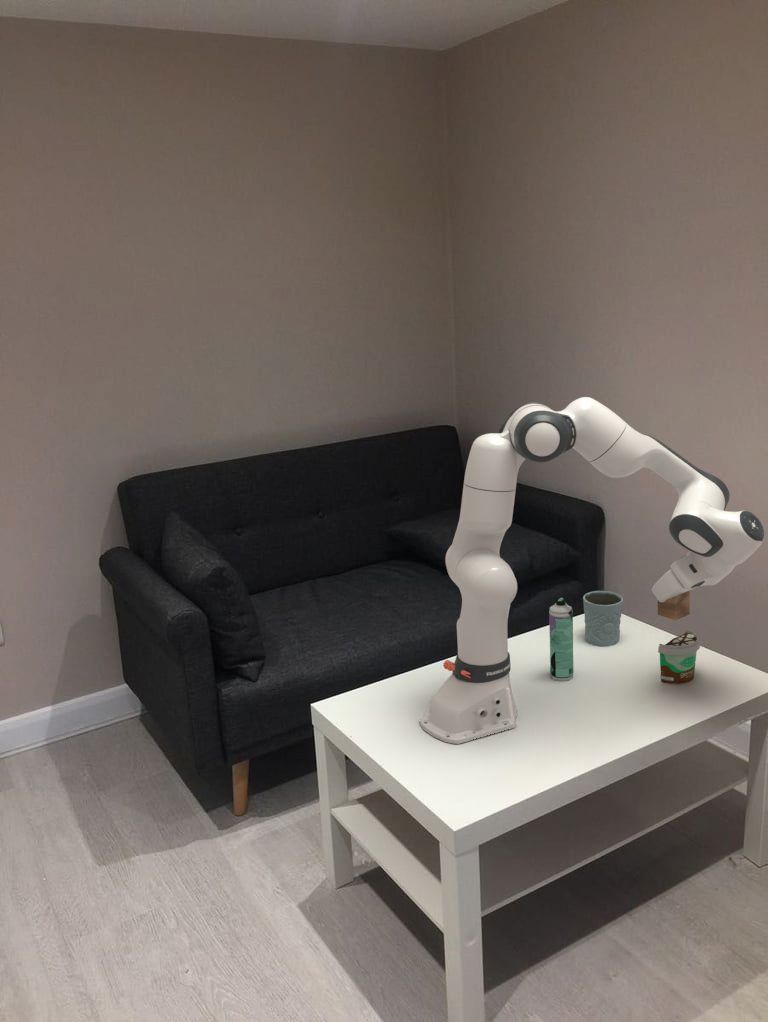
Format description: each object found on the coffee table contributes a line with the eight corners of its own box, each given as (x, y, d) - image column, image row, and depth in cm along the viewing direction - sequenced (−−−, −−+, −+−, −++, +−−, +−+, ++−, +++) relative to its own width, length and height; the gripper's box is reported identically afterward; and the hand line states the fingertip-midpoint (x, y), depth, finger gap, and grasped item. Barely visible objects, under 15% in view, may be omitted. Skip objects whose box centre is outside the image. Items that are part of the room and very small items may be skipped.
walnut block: (675, 620, 208) (675, 587, 206) (657, 614, 212) (657, 582, 210) (689, 614, 211) (689, 581, 208) (672, 608, 215) (671, 576, 212)
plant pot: (592, 630, 248) (592, 588, 245) (628, 636, 242) (628, 594, 239) (577, 643, 240) (576, 600, 237) (614, 651, 234) (614, 607, 231)
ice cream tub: (680, 691, 211) (681, 651, 208) (657, 683, 215) (658, 644, 213) (709, 673, 218) (710, 634, 216) (686, 666, 223) (687, 628, 220)
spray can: (573, 671, 224) (572, 594, 219) (573, 681, 219) (572, 603, 214) (550, 670, 225) (549, 594, 220) (550, 680, 220) (548, 603, 215)
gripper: (728, 541, 207) (692, 572, 217) (668, 564, 196) (633, 595, 207) (745, 564, 204) (708, 594, 215) (685, 588, 194) (649, 619, 204)
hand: (671, 595), depth 211 cm, fingers closed on walnut block, 5 cm apart
